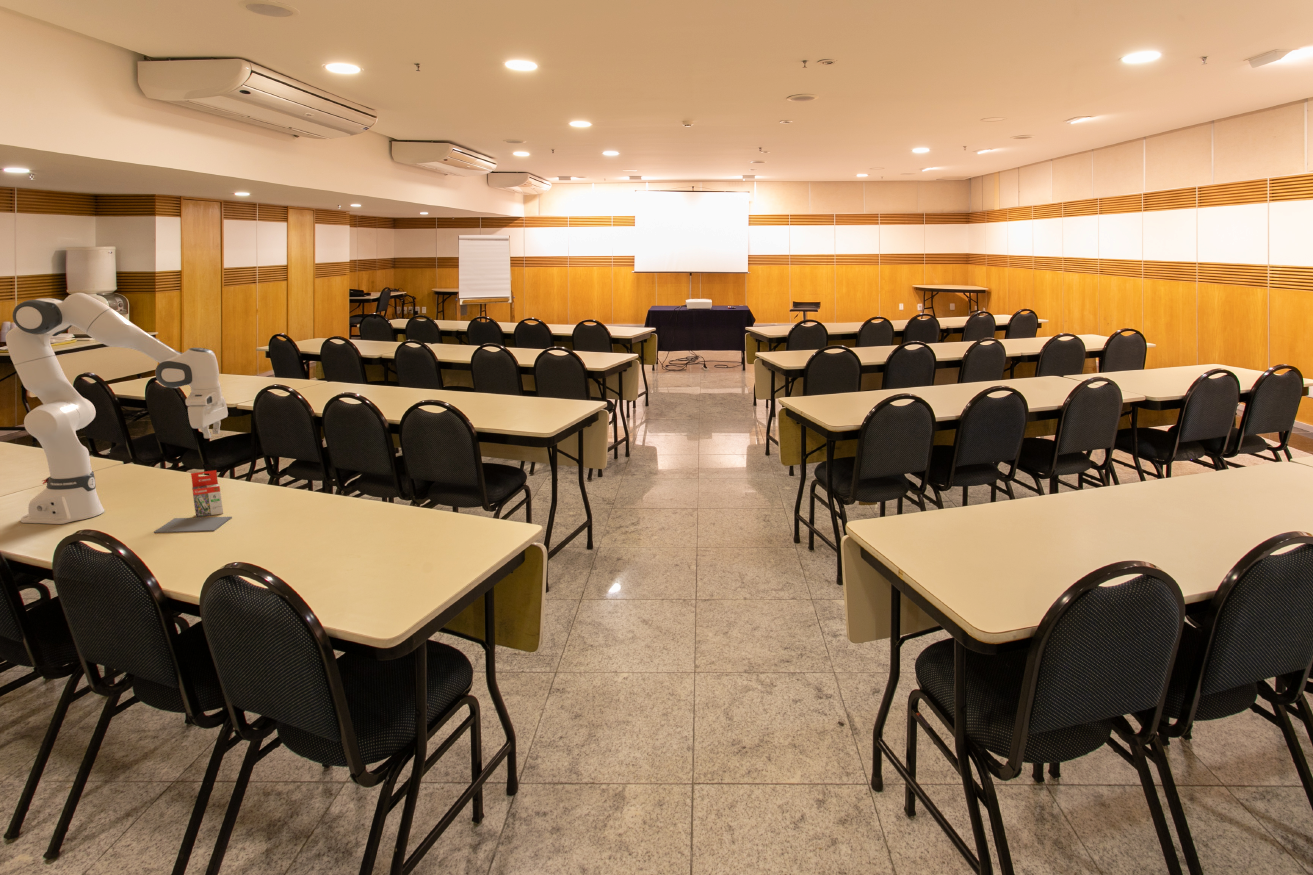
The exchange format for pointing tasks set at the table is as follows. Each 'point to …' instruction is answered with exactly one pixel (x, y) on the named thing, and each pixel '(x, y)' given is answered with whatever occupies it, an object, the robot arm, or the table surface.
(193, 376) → the robot arm
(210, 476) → the ink box
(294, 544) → the table surface
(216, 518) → the mat
